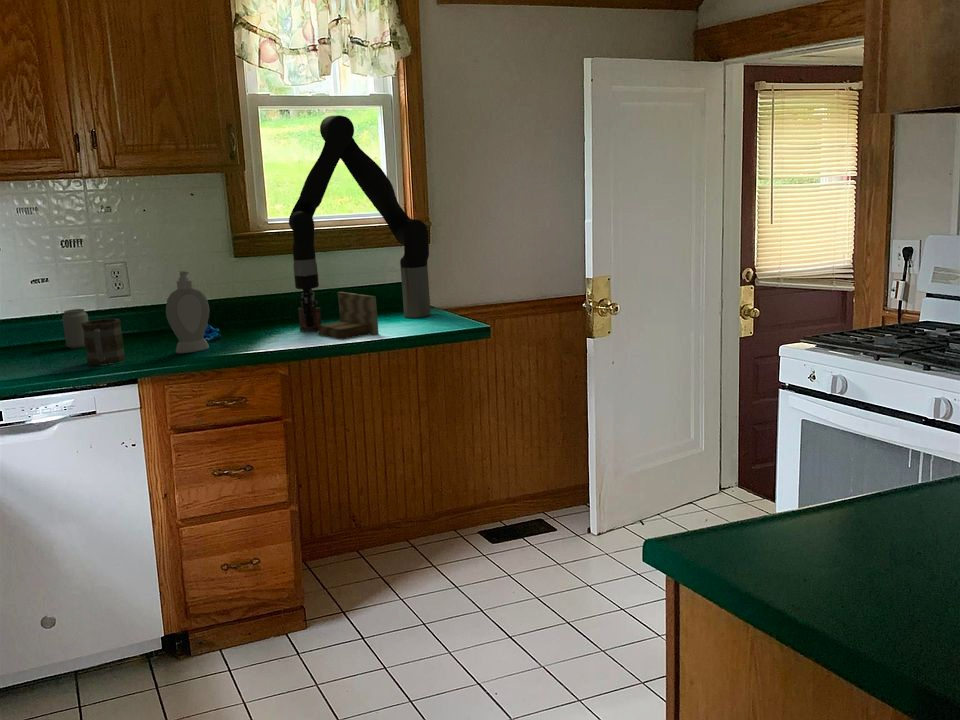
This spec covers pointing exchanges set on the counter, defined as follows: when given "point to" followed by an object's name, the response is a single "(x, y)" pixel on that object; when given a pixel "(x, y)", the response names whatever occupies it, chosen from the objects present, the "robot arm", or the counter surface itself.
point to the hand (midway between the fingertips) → (310, 325)
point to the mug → (103, 341)
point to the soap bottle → (188, 315)
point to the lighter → (315, 318)
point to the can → (74, 327)
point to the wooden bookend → (353, 317)
